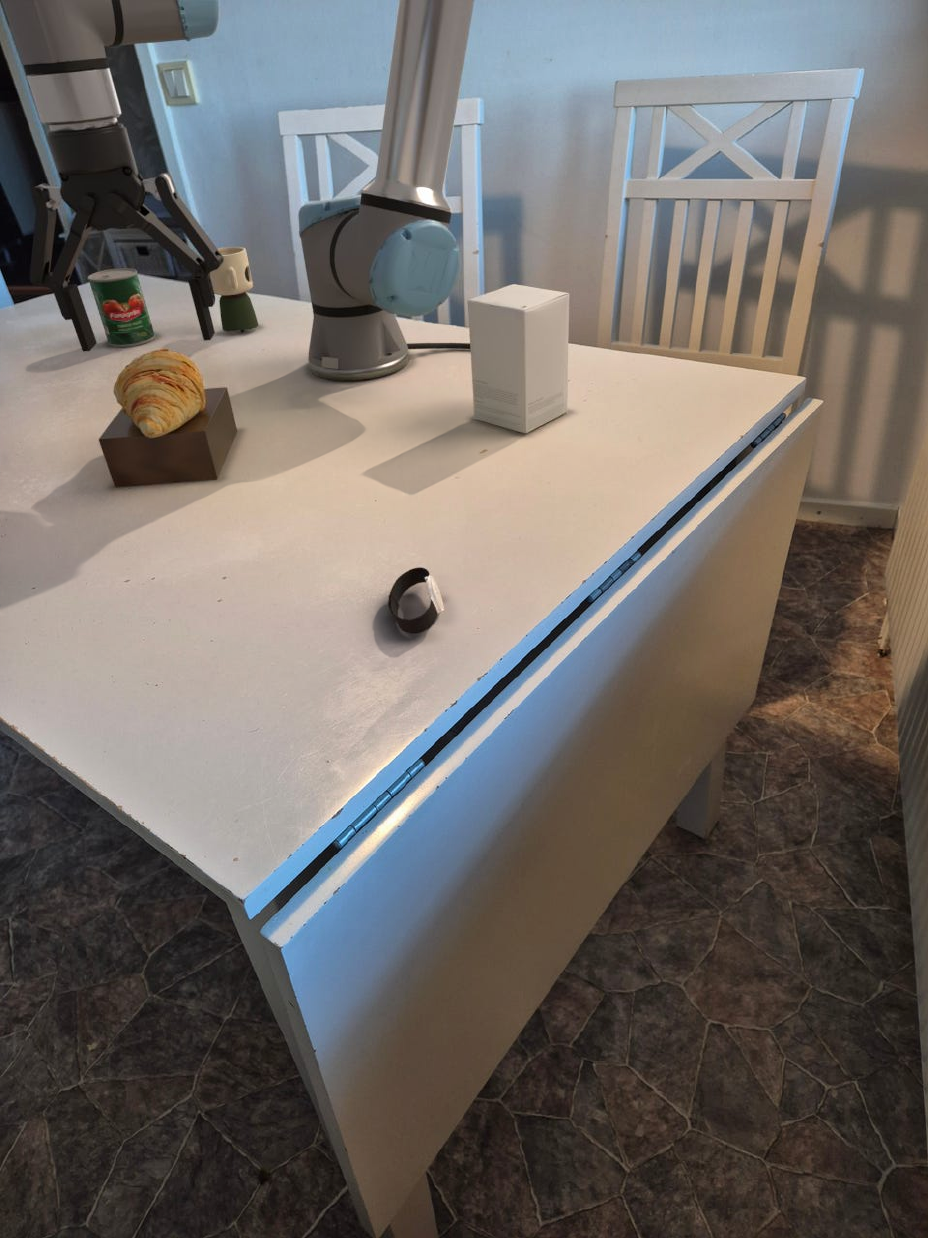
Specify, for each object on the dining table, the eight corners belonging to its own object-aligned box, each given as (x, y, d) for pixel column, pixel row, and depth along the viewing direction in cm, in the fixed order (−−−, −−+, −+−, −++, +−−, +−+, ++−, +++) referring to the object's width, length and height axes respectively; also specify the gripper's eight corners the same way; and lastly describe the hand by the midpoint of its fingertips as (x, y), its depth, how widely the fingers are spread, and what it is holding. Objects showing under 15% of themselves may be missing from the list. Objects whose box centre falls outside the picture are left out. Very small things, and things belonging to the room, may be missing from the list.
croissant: (190, 471, 91) (209, 407, 87) (94, 442, 87) (109, 374, 83) (202, 399, 107) (218, 343, 103) (122, 373, 103) (135, 313, 99)
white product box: (570, 412, 105) (572, 291, 96) (525, 435, 100) (524, 310, 91) (516, 397, 110) (514, 281, 101) (471, 418, 105) (465, 298, 96)
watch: (446, 636, 68) (443, 601, 66) (390, 642, 67) (385, 606, 65) (441, 586, 74) (438, 552, 72) (389, 590, 74) (385, 556, 72)
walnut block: (237, 431, 106) (227, 386, 102) (217, 479, 95) (205, 431, 91) (145, 438, 106) (132, 393, 102) (114, 487, 94) (98, 439, 91)
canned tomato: (137, 330, 146) (118, 266, 140) (164, 336, 142) (146, 270, 136) (99, 343, 141) (77, 276, 135) (126, 349, 137) (105, 281, 131)
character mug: (267, 334, 140) (251, 254, 132) (225, 341, 138) (207, 260, 130) (256, 319, 148) (240, 242, 140) (216, 325, 146) (198, 248, 138)
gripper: (218, 109, 82) (263, 322, 95) (-27, 131, 82) (51, 341, 95) (203, 116, 76) (254, 342, 89) (-61, 140, 76) (27, 363, 89)
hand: (149, 342), depth 92 cm, fingers open, 13 cm apart
